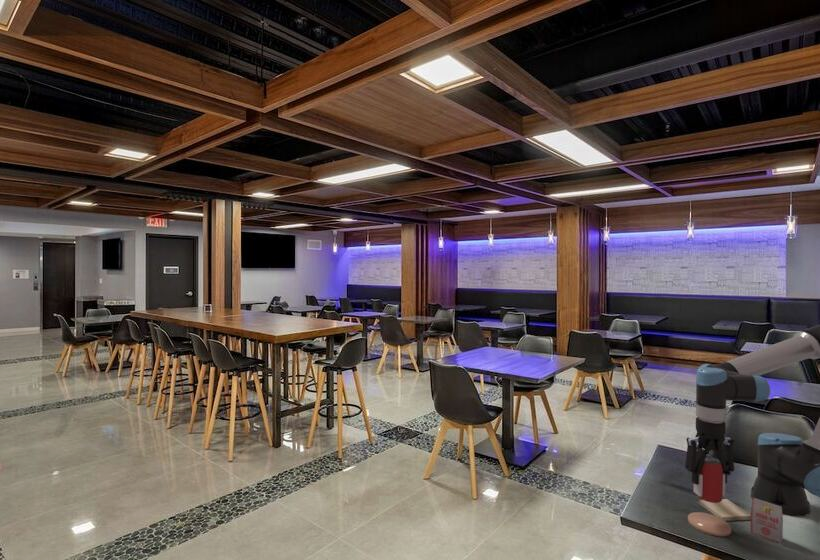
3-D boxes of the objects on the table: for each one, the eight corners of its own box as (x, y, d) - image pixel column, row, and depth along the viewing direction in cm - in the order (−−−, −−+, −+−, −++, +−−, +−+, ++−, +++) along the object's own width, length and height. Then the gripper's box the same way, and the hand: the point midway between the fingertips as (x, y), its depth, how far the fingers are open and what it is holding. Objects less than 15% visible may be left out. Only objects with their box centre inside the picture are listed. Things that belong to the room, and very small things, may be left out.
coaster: (712, 514, 138) (712, 511, 138) (741, 535, 127) (741, 532, 127) (679, 516, 137) (679, 513, 137) (705, 537, 126) (705, 533, 126)
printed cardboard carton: (753, 528, 131) (754, 495, 131) (782, 538, 126) (783, 504, 126) (750, 532, 129) (750, 499, 128) (779, 543, 123) (780, 509, 123)
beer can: (726, 505, 128) (727, 465, 128) (702, 502, 130) (702, 463, 129) (715, 494, 135) (716, 455, 135) (692, 491, 136) (692, 454, 136)
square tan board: (726, 502, 145) (726, 498, 145) (752, 519, 135) (752, 515, 135) (698, 503, 145) (698, 500, 145) (722, 520, 135) (722, 517, 135)
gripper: (730, 414, 136) (729, 486, 137) (671, 415, 135) (670, 488, 135) (751, 422, 129) (749, 499, 129) (688, 424, 127) (687, 501, 128)
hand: (709, 493), depth 132 cm, fingers closed on beer can, 6 cm apart
